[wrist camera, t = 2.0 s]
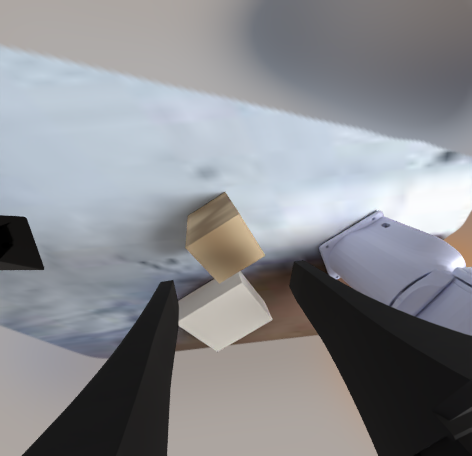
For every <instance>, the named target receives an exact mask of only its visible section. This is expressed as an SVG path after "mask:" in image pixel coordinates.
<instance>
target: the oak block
mask: <svg viewBox="0 0 472 456" xmlns="http://www.w3.org/2000/svg"><path fill="white" fill-rule="evenodd" d="M185 248H186V249H187V250H188V251H189V252H190V253H191V254H192V255H193V256H194V257H195V259H196V260H197V261H198V262H199V263H200V264H201V265H202V266H203V267H204V268H205V269H206V270H207V271H208V272H209V273H210V274H211V275H212V276H213V278H214V279H215V280H216V281H217V282H218V283H219V284H220V283H221V282H223V281H225V280H226V279H228V278H230V277H231V276H233V275H234V274H236V273H238V272H239V271H241V270H243V269H244V268H246V267H248V266H249V265H251V264H252V263H254V262H256V261H257V260H259V259H261V258H262V257H264V256H265V254H264V253H263V251H262V249H261V248H260V246H259V245H258V243H257V241H256V240H255V238H254V237H253V235H252V233H251V232H250V230H249V229H248V227H247V225H246V224H245V222H244V220H243V219H242V217H241V216H240V214H239V212H238V211H237V209H236V208H235V206H234V205H233V203H232V202H231V200H230V199H229V197H228V196H227V194H226V193H225V192H224V193H223V194H221V195H220V196H218V197H217V198H215V199H213V200H212V201H210V202H209V203H207V204H206V205H204V206H203V207H201V208H199V209H198V210H196V211H195V212H193V213H192V214H190V215H189V216H188V220H187V233H186V246H185Z"/></svg>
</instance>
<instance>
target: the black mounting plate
mask: <svg viewBox="0 0 472 456" xmlns="http://www.w3.org/2000/svg"><path fill="white" fill-rule="evenodd" d="M0 270H44V266H43V263H42V260H41V257H40V255H39V252H38V249H37V246H36V243H35V240H34V238H33V235H32V232H31V229H30V226H29V224H28V221H27V218H25V217H20V216H2V215H0Z"/></svg>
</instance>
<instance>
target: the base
mask: <svg viewBox="0 0 472 456" xmlns="http://www.w3.org/2000/svg"><path fill="white" fill-rule="evenodd" d="M178 304H179V325H178V326H180V327H181V328H183V329H184V330H186V331H187V332H189V333H190V334H192V335H193V336H195V337H196V338H198V339H199V340H201V341H202V342H203V343H205V344H206V345H208V346H209V347H211V348H213V349H214V350H215V351H217V352H218V351H220V350H222V349H223V348H225V347H227V346H229V345H230V344H232V343H234V342H235V341H237V340H239V339H240V338H242V337H244V336H246V335H247V334H249V333H251V332H252V331H254V330H256V329H258V328H259V327H261V326H263V325H264V324H266V323H268V322H270V321H271V320H273V319H272V317H271V315H270V313H269V311H268V308H267V306H266V304H265V302H264V300H263V299H262V298H261V297H260V295H259V294H258V293H257V292H256V290H255V289H254V288H253V286H252V285H251V284H250V283H249V281H248V280H247V279H246V278H245V276H244V275H243V274H242V273H241V271H239V272H238V273H236V274H234V275H233V276H231V277H230V278H228V279H226V280H225V281H223V282H221V283H220V284H219V283H218V282H217V281H216V280H215V279H213V280H211V281H210V282H208V283H207V284H205V285H203V286H202V287H200V288H198V289H197V290H195V291H194V292H192V293H190V294H189V295H187V296H185V297H184V298H182V299H181V300H179V301H178Z"/></svg>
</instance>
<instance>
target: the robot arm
mask: <svg viewBox="0 0 472 456" xmlns="http://www.w3.org/2000/svg"><path fill="white" fill-rule="evenodd" d="M319 250H320V253H321V256H322V258H323V261H324V264H325V267H326V269H327V272H328V274H326V273H324V272H323V271H321V270H319V269H318V268H316V267H314V266H312V265H311V264H309V263H307V262H305V261H303V260H302V261H295V262H294V265H293V270H292V275H291V280H290V285H289V286H290V288H291V290H292V293H293V295H294V297H295V299H296V301H297V302H298V304H299V305H300V307H301V308H302V310H303V312H304V313H305V315H306V316H307V318H308V319H309V321H310V322H311V324H312V325H313V327H314V328H315V330H316V331H317V333H318V334H319V336H320V337H321V339H322V341H323V342H324V344H325V346H326V348H327V349H328V351H329V353H330V355H331V357H332V359H333V361H334V362H335V364H336V366H337V368H338V370H339V372H340V374H341V376H342V378H343V380H344V382H345V384H346V385H347V388H348V390H349V392H350V394H351V396H352V398H353V400H354V402H355V404H356V406H357V409H358V410H359V413H360V415H361V417H362V420H363V422H364V424H365V426H366V428H367V431H368V433H369V435H370V437H371V439H372V442H373V444H374V447H375V449H376V451H377V454H378V456H472V267H466V264H465V261H464V259H463V257H462V256H461V254H460V253H459V252H458V251H457V250H456V249H455V248H453V247H452V246H451V245H449V244H448V243H447V242H445V241H443V240H442V239H440V238H438V237H436V236H433V235H431V234H428V233H426V232H423V231H420V230H418V229H415V228H413V227H410V226H407V225H405V224H402V223H400V222H397V221H394V220H392V219H389V218H387V217H384V214H383V211H377V212H375V213H374V214H372V215H370V216H369V217H367V218H365V219H364V220H362V221H360V222H359V223H357V224H355V225H354V226H352V227H350V228H349V229H347V230H345V231H344V232H342V233H340V234H339V235H337V236H335V237H334V238H332V239H330V240H329V241H327V242H325V243H324V244H322V245H321V246H320V247H319ZM340 277H341V278H342V279H343V280H344V281H345V282H346V283H348V284H349V285H350V286H351V287H352V288H351V287H349V286H347V285H345V284H344V283H342V282H340V281H338V280H337V279H338V278H340ZM178 325H179V304H178V299H177V295H176V290H175V285H174V281H173V280H171V281H164V282H161V283H160V284H159V286H158V288H157V289H156V291H155V293H154V294H153V296H152V298H151V299H150V301H149V303H148V304H147V306H146V307H145V309H144V311H143V312H142V314H141V315H140V317H139V318H138V320H137V321H136V323H135V324H134V326H133V327H132V328H131V330H130V331H129V332H128V334H127V335H126V337H125V338H124V339H123V341H122V342H121V344H120V345H119V346H118V347H117V349H116V350H115V351H114V353H113V354H112V355H111V357H110V358H109V359H108V360H107V361H106V363H105V364H104V365H103V366H102V368H101V369H100V370H99V371H98V373H97V374H96V375H95V376H94V377H93V378H92V380H91V381H90V382H89V383H88V384H87V385H86V387H85V388H84V389H83V390H82V391H81V392H80V394H79V395H78V396H77V397H76V398H75V399H74V400H73V402H71V404H70V405H69V406H68V407H67V408H66V409H65V410H64V411H63V412H62V413H61V415H60V416H59V417H58V418H57V419H56V420H55V421H54V422H53V423H52V424H51V425H50V426H49V427H48V428H47V429H46V430H45V432H44V433H43V434H42V435H41V436H40V437H39V438H38V439H37V440H36V441H35V442H34V443H33V444H32V445H31V446H30V447H29V449H28V450H27V451H26V452H25V453H24V454H23V455H22V456H167V443H168V423H169V404H170V387H171V377H172V370H173V362H174V355H175V348H176V340H177V333H178Z"/></svg>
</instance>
